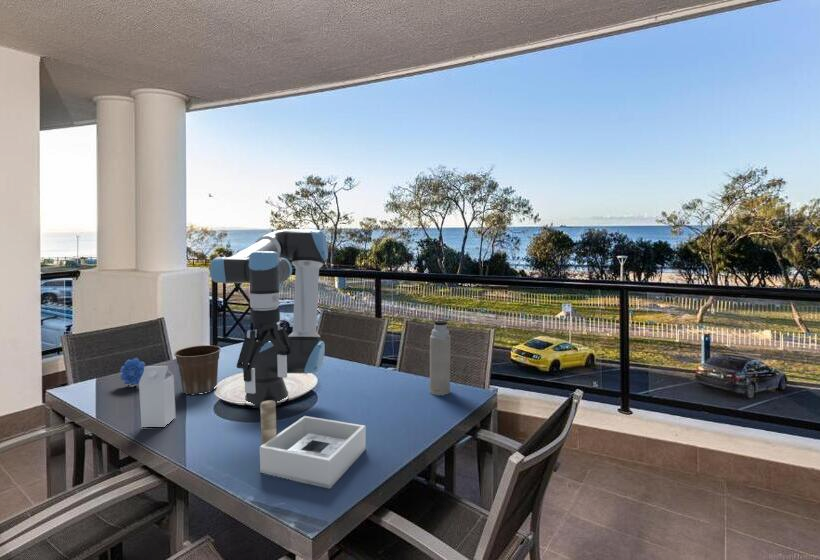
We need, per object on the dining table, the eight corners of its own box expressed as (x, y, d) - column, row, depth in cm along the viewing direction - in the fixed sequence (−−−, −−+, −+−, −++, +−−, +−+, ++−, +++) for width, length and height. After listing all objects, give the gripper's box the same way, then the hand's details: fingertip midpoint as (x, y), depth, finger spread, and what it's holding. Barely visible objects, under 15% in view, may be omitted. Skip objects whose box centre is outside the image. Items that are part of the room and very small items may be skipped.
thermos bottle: (425, 392, 162) (426, 322, 160) (436, 386, 169) (436, 318, 166) (443, 397, 158) (444, 324, 155) (453, 391, 164) (454, 321, 162)
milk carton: (153, 419, 137) (150, 363, 136) (175, 418, 138) (173, 362, 136) (141, 429, 130) (138, 369, 129) (165, 428, 131) (162, 369, 129)
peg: (258, 453, 115) (257, 404, 114) (268, 446, 119) (266, 399, 118) (270, 456, 114) (269, 406, 113) (279, 449, 118) (278, 401, 117)
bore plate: (283, 464, 108) (283, 453, 108) (308, 443, 119) (308, 433, 119) (323, 472, 104) (323, 461, 104) (346, 450, 115) (346, 439, 115)
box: (260, 473, 106) (259, 446, 105) (304, 438, 124) (304, 415, 124) (329, 488, 99) (329, 460, 98) (365, 449, 118) (365, 425, 117)
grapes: (155, 384, 171) (153, 355, 170) (142, 389, 165) (140, 360, 164) (130, 382, 173) (128, 354, 172) (116, 388, 166) (114, 359, 165)
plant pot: (199, 400, 154) (197, 357, 153) (166, 395, 159) (164, 353, 158) (231, 385, 170) (229, 347, 168) (200, 381, 175) (198, 343, 173)
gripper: (244, 316, 100) (246, 402, 102) (303, 302, 123) (304, 372, 125) (219, 314, 102) (222, 398, 104) (281, 301, 126) (283, 370, 128)
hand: (267, 384), depth 115 cm, fingers open, 13 cm apart
